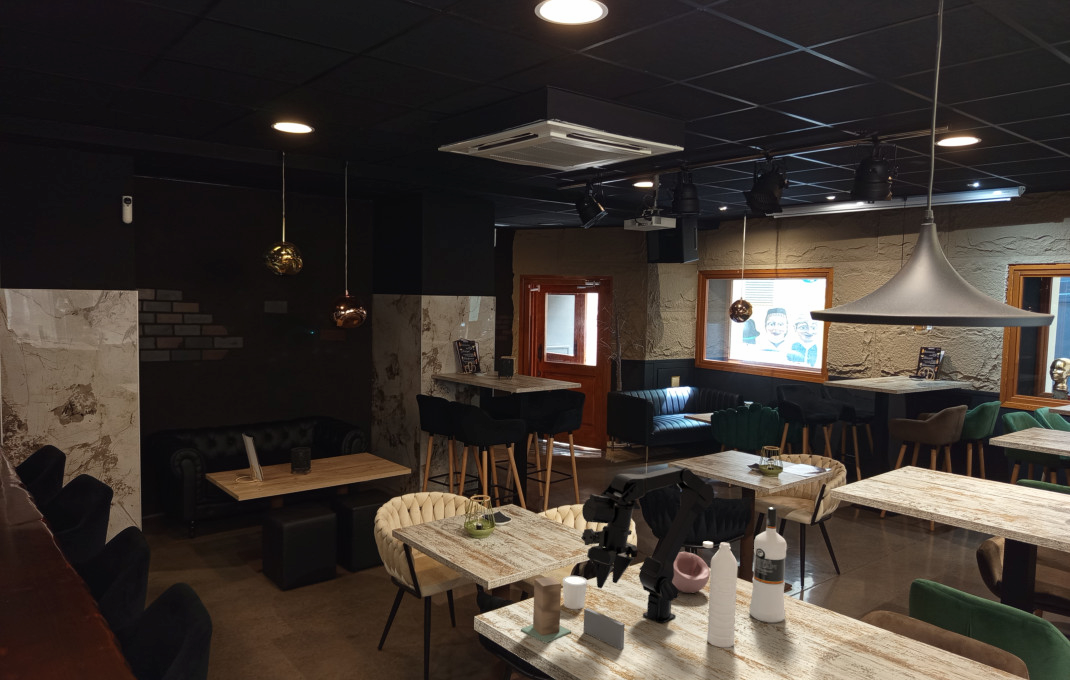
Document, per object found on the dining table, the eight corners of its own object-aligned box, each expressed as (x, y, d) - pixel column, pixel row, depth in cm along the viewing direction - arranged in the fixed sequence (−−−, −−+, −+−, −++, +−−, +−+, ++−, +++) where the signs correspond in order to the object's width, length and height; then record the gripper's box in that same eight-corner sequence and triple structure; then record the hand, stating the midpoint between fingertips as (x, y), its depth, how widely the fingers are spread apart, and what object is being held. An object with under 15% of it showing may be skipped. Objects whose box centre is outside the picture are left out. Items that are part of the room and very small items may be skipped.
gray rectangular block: (586, 630, 180) (587, 607, 180) (623, 648, 172) (624, 623, 172) (583, 632, 180) (584, 609, 179) (620, 649, 171) (621, 625, 171)
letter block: (551, 623, 183) (552, 576, 182) (560, 632, 178) (561, 583, 178) (532, 627, 181) (534, 578, 180) (541, 635, 176) (543, 586, 176)
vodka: (792, 621, 190) (797, 510, 189) (764, 626, 187) (770, 513, 186) (768, 607, 199) (773, 501, 198) (741, 612, 195) (746, 504, 194)
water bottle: (729, 636, 180) (734, 539, 179) (737, 648, 174) (742, 547, 173) (695, 635, 180) (699, 538, 179) (702, 647, 173) (706, 546, 172)
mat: (545, 620, 186) (546, 618, 186) (571, 632, 179) (571, 630, 179) (520, 630, 180) (520, 628, 180) (546, 643, 173) (546, 641, 173)
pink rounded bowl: (682, 601, 201) (684, 562, 200) (659, 586, 212) (660, 548, 211) (717, 596, 205) (718, 557, 205) (692, 581, 216) (694, 544, 216)
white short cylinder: (584, 611, 192) (585, 585, 192) (559, 608, 194) (560, 583, 193) (587, 601, 199) (588, 576, 199) (563, 598, 200) (564, 574, 200)
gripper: (605, 514, 194) (594, 571, 193) (574, 518, 178) (562, 580, 177) (643, 525, 188) (632, 584, 187) (614, 530, 172) (602, 594, 171)
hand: (607, 585), depth 181 cm, fingers open, 9 cm apart
